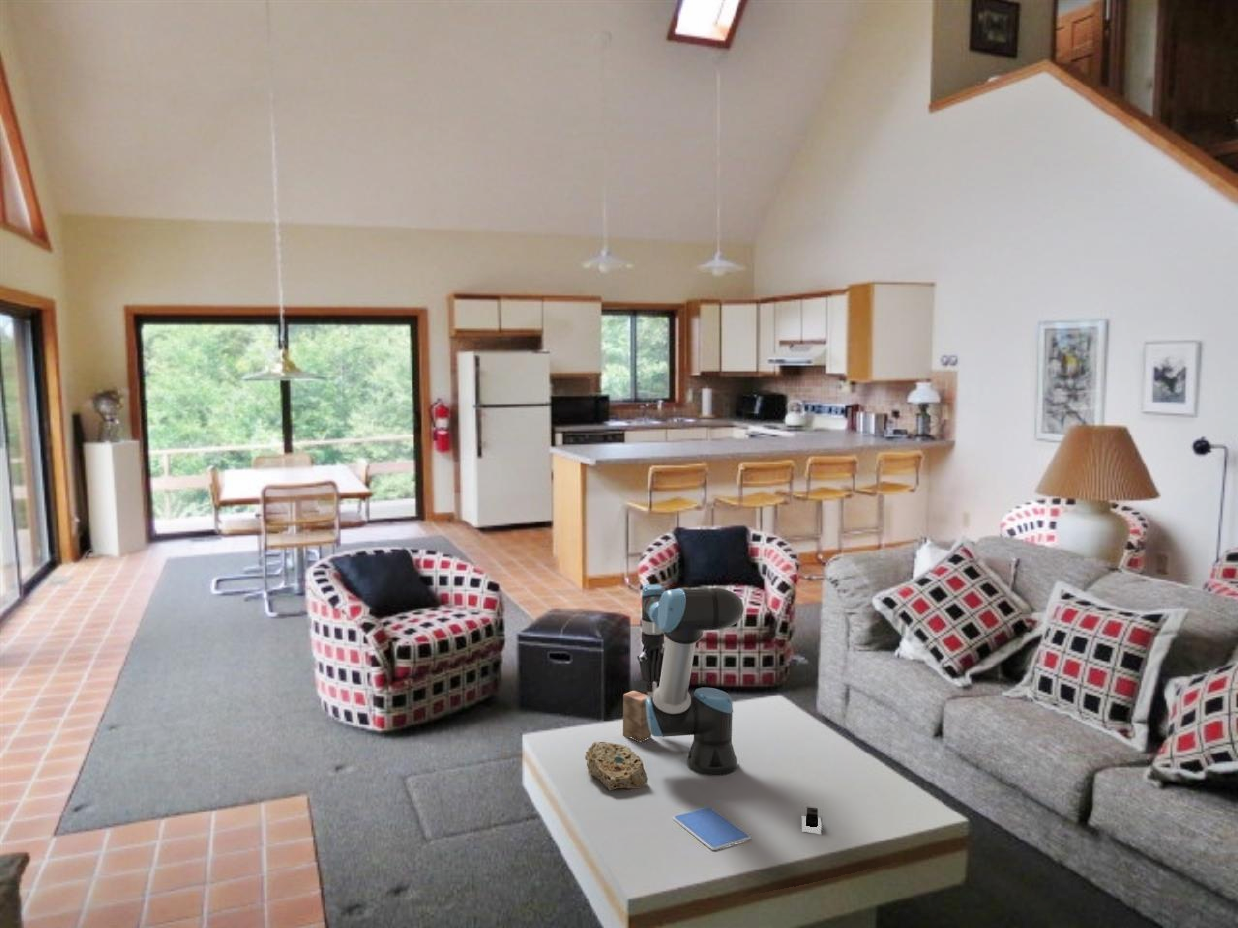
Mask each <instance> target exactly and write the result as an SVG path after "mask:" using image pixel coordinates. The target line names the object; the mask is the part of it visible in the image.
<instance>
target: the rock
mask: <svg viewBox="0 0 1238 928" xmlns="http://www.w3.org/2000/svg"><path fill="white" fill-rule="evenodd" d="M584 757H585V760H586V766H587V769H588V773H589V774H590V775H592V777H594V778H597V779H598V780H599V781H600V782H601V783H602V784H603V785H605V787H607V788H608V791H612V790H616V789H618V788H619V789H626V788H627V789H639V788H640V789H641V788H643V787H644V786H645V785H646V784H648V780H649V779H648V776H647V772H646V769H645V767H644V761H643V760H642V758H641V757H640V756H639V755H638V754H636V753H634V752H633V751H632V749H631V748H630V747H629V746H627V745H624V744H619V743H618V744H617V743H614V742H606V741H594V742H592V743H591V746H590V747H588V751H586V753H585V756H584Z"/></svg>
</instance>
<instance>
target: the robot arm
mask: <svg viewBox="0 0 1238 928" xmlns="http://www.w3.org/2000/svg"><path fill="white" fill-rule="evenodd" d="M743 615H744V603H743V602H742V599H741V598H740V597H739V595H737V593H735V592H733V591H731V590H729V589H725V588H721V587H710V588H709V587H708V588H706V587H705V588H685V589H684V588H678V587H677V588H675V589H667V590H666V589H665V587H664V586H662V585H660V584H646V585H644V586H643V587H642V593H641V631H642V632H641V644H642V645H643V647H642V652H641V654H637V656H636V657H637V660H638V662H639V668H640V674H641V675H640V676H641V680H642V681H643V682H646V691H647V694H646V695H648V696H651V697H648V698H646V700H645V704H646V714H647V721H648V727H649V731H650V733H651V736H653V737H660V738H661V737H663V738H667V737H679V736H681V737H682V736H693V741H692V743H691V746H690V749H689V751H688V755H687V767H688V768H689V769H690V770H691V771H693V772H694V773H697V774H700V775H705V776H713V777H714V776H715V777H716V776H726V775H729V774H731V773H733V772H734V771H736V770H737V767H738V759H737V756H736V753H735V748H734V744H733V741H732V740H733V739H732V737H733V714H734V707H733V705H734V703H733V699H732V696H731V695H729V694H728V693H727V692H725V691H723V690H720V689H717V688H713V687H699V688H696V689H695V690H694V693H693V694H692V695H691V694H690V693H689V686H690V679H691V674H692V668H693V663H694V656H695V649H696V644H697V642H699V641H700V640H701V639H702V637H703V635H704V631H718V630H724V629H728V628H731V627H732V626H734V625H735V624H737V623H739V621H740V620H741V619H742V617H743ZM664 643H665V644H664ZM663 644H664V645H663ZM663 646H664V647H663ZM658 682H659V683H658ZM658 684H659V686H658Z"/></svg>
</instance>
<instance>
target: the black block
mask: <svg viewBox="0 0 1238 928" xmlns="http://www.w3.org/2000/svg"><path fill="white" fill-rule="evenodd" d="M818 810H819V809H818V808H817V807H808V806H807V807H806V815H805V816H806V826H810V827H817V826H818V817H819V811H818Z"/></svg>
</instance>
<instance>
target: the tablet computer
mask: <svg viewBox="0 0 1238 928" xmlns="http://www.w3.org/2000/svg"><path fill="white" fill-rule="evenodd" d="M672 820H673V821H674V822H675V823H676V824H678V825H680V826H681V828H683V829H684V828H685V831H687V832H688V833H689V834H691V835H692V836H693V837H694V838H696V839H697V840H698V841H700V842H701V844H703V845H704V844H705V845H704V846H706V847H707V848H708V849H709V848H710V849H711V850H710V849H709V850H710V851H712V850H717V849H720V848H723V847H726V846H729V845H733V844H735V843H739V842H743V841H746V842H748V841H747V840H749V839H750V840H751V836H750V835H749V834H748V833H746V832H744V831H743V830H742V829H740V828H739V827H738V826H737V825H735V824H734V823H733V822H731V821H729V819H727V818H725V816H723V815H722V814H721V813H718V811H716V810H715V809H714V808H712V807H708V806H707V807H703V808H700V809H696V810H691V811H689V812H685V813H681V814H677V815H674V816H673V817H672ZM750 840H749V841H750ZM743 843H744V842H743ZM733 846H734V845H733ZM723 849H724V848H723ZM720 850H721V849H720ZM717 851H718V850H717Z"/></svg>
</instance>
